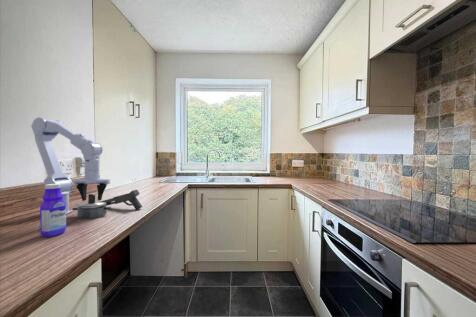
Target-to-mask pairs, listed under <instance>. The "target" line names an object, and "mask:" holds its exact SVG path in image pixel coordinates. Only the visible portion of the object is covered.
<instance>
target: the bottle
mask: <svg viewBox="0 0 476 317" xmlns="http://www.w3.org/2000/svg"><path fill="white" fill-rule="evenodd" d="M41 198H42V200H43V202H41V204H40V206H39V219H40V221H39V222H40V223H39V226H40V227H39V228H40V231H39V232H40V235H41V236H42V237H47V238H50V237H54V236H55V237H56V236H58V235H61V234H63V233H65V232H66V230H67V217H66V216H67V214H66V204H65V202H64V200H63V199H62V198H63V195H62V193H61V190H60V184H47V185H45V184H44V194H43V196H42V197H41Z"/></svg>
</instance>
